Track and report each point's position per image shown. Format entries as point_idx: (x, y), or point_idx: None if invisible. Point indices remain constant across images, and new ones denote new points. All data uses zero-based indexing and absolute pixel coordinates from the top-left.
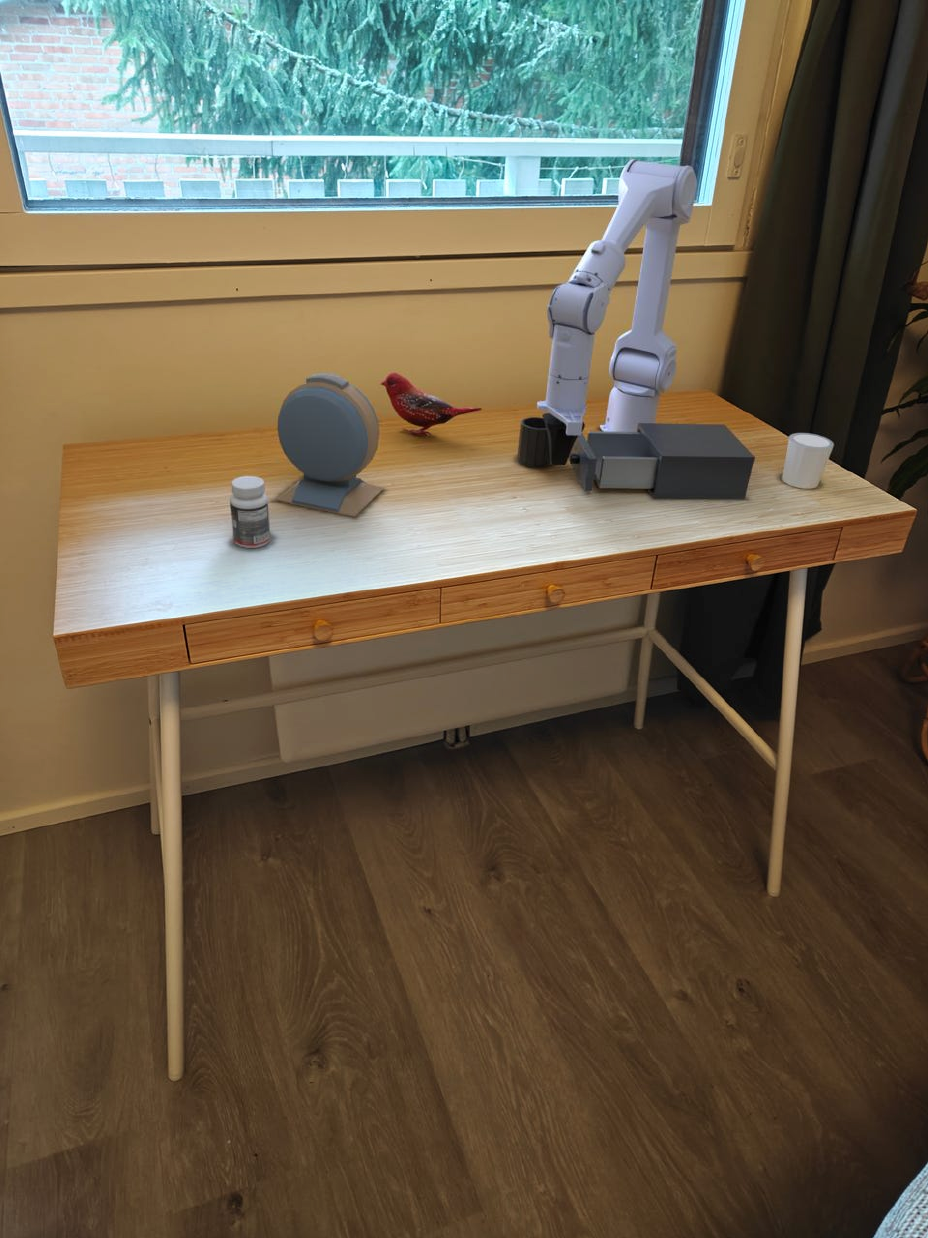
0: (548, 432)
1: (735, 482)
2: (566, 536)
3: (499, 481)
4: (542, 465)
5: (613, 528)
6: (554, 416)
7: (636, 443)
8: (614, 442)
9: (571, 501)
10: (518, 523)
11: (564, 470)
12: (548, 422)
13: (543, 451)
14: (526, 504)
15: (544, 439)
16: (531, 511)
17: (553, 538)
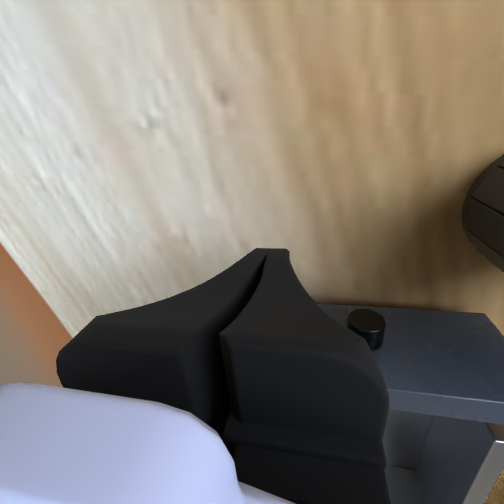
0: (249, 302)
1: None
2: (50, 211)
3: (357, 38)
4: (465, 224)
5: (116, 306)
6: (287, 427)
7: (435, 493)
8: (451, 460)
9: (221, 257)
10: (65, 96)
11: (426, 282)
12: (73, 351)
13: (494, 244)
14: (182, 133)
15: None
16: (143, 144)
17: (29, 181)
